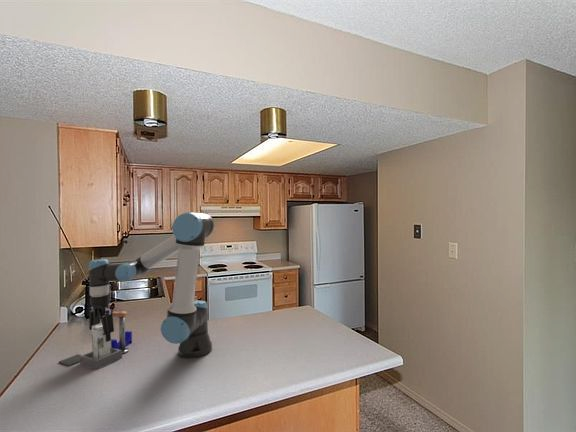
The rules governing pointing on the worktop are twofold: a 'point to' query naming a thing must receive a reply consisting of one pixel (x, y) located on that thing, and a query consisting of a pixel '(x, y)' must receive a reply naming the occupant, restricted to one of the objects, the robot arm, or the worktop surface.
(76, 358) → the pad
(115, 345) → the blue stepped block
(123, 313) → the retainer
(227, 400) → the worktop surface
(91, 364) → the cradle
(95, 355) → the syrup box
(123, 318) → the post
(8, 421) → the worktop surface
